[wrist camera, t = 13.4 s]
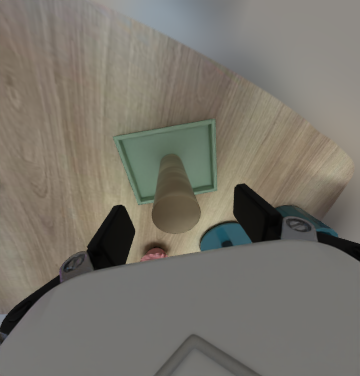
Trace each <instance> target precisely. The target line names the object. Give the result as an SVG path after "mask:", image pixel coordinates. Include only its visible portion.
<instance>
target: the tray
mask: <svg viewBox="0 0 360 376" xmlns="http://www.w3.org/2000/svg"><path fill="white" fill-rule="evenodd" d="M113 139H114V141H115V144H116V147H117V149H118V152H119V155H120V157H121V160H122V163H123V165H124V168H125V171H126V173H127V176H128V179H129V181H130V184H131V187H132V189H133V192H134V195H135V197H136V200H137V203H138V205H141V204H147V203H152V202H154V197H155V191H156V185H157V179H158V173H159V167H160V162H161V160H162V158H163V157H164V156H166V155H168V154H175V155H177V156H178V157H180V159H181V160H182V163H183V165H184V168H185V171H186V173H187V176H188V178H189V181H190V184H191V186H192V189H193V191H194V194H195V195H196V194H202V193H207V192H213V191H217V165H216V126H215V119H208V120H203V121H197V122H192V123H186V124H180V125H175V126H169V127H164V128H158V129H152V130H147V131H141V132H136V133H130V134H124V135H119V136H115V137H113Z"/></svg>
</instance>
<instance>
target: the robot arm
mask: <svg viewBox="0 0 360 376" xmlns="http://www.w3.org/2000/svg"><path fill="white" fill-rule="evenodd" d="M233 214H234V216H235V218H236V219H237V221H238V222H239V224H240V225H241V227H242V228H243V230H244V231H245V233H246V234H247V235H248V237H249V238H250V240H251V241H252V243H251V244H244V245H237V246H231V247H225V248H219V249H213V250H207V251H201V252H195V253H189V254H183V255H177V256H171V257H165V258H159V259H153V260H148V261H142V262H136V263H130V264H126V261H127V257H128V254H129V251H130V248H131V244H132V241H133V238H134V235H135V228H134V226H133V224H132V221H131V219H130V217H129V215H128V212H127V210H126V208H125V206H123V205H116V206H114V207H113V208H112V210H111V211H110V213H109V214H108V216H107V217H106V219H105V220H104V222H103V223H102V225H101V226H100V228H99V229H98V231H97V232H96V234H95V235H94V237H93V238H92V240H91V241H90V243H89V244H88V246H87V248H88V249H87V251H86V252H85V251H81V252H78V253H76V254H74V255H72V256H71V257H69V258H68V259H67V260H66V261H65V262H64V263H63V264H62V266H61V268H60V271H59V273H60V275H58V276H57V277H55V278H54V279H53V280H51V281H50V282H48V283H47V284H45V285H44V286H43V287H41V288H40V289H38V290H37V291H35V292H34V293H33V294H31V295H30V296H28V297H27V298H26V299H24V300H23V301H21V302H20V303H19V304H18V305H16V306H15V307H14V308H13V309H12V310H11V311H10V312H9V313H8V315H7V316H6V317H5V319H4V320H3V322H2V324H1V327H0V376H360V244H358V243H355V242H351V241H348V240H345V239H341V238H338V237H335V236H331V235H328V234H325V233H321V232H318V231H316V229H315V227H314V225H313V224H312V223H310V222H309V221H307V220H305V219H303V218H300V217H295V216H288V217H285V218H284V217H283V216H282V215H281V213H280V212H278V211H277V210H276V209H275V208H274V207H272V206H271V205H270V204H269V203H268V202H266V201H265V200H264V199H263V198H262V197H260V196H259V195H258V194H257V193H256V192H254V191H253V190H252V189H251V188H250V187H248V186H247V185H246V184H238V185H237V186H236V187H235V188H234V206H233Z"/></svg>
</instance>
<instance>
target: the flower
mask: <svg viewBox="0 0 360 376" xmlns="http://www.w3.org/2000/svg"><path fill="white" fill-rule="evenodd" d="M165 257H168V256H167V254H165V252H164V250H162V249H160V248H157V247H156V248H152V250H149V251H148V252H147V254H146V255H145V256H144V257H143V258H141V261H140V262H142V261H148V260H153V259H159V258H165Z"/></svg>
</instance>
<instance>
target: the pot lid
mask: <svg viewBox="0 0 360 376" xmlns="http://www.w3.org/2000/svg"><path fill="white" fill-rule="evenodd" d="M251 243H252V241H251V240H250V238H249V237H248V235H247V234H246V233H245V231H244V230H243V228H242V227H241V225H240V224H239V223H225V224H221V225H218V226H216V227H214V228H212V229H211V230H209V231H208V232H207V233H206V234H205V235H204V237H203V238H202V240H201V243H200V249H201V251H207V250H213V249H219V248H225V247H231V246H237V245H244V244H251Z"/></svg>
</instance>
